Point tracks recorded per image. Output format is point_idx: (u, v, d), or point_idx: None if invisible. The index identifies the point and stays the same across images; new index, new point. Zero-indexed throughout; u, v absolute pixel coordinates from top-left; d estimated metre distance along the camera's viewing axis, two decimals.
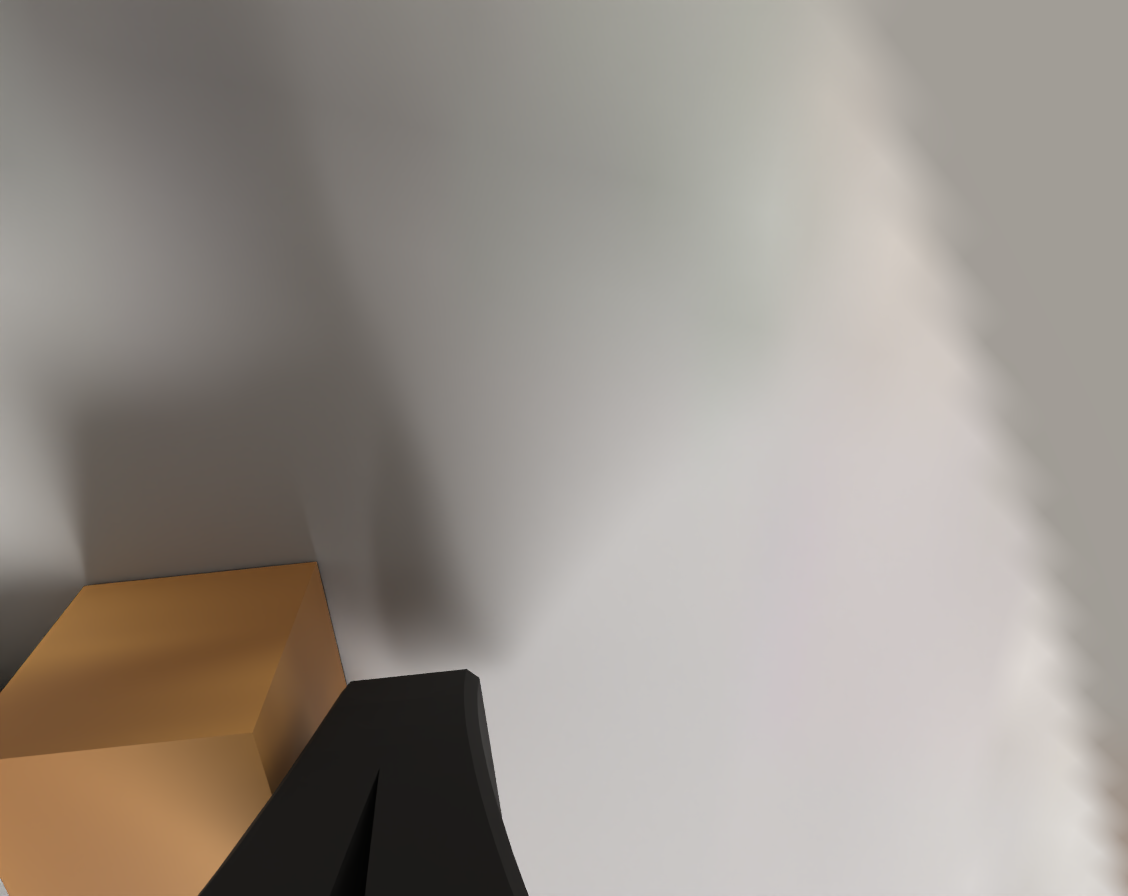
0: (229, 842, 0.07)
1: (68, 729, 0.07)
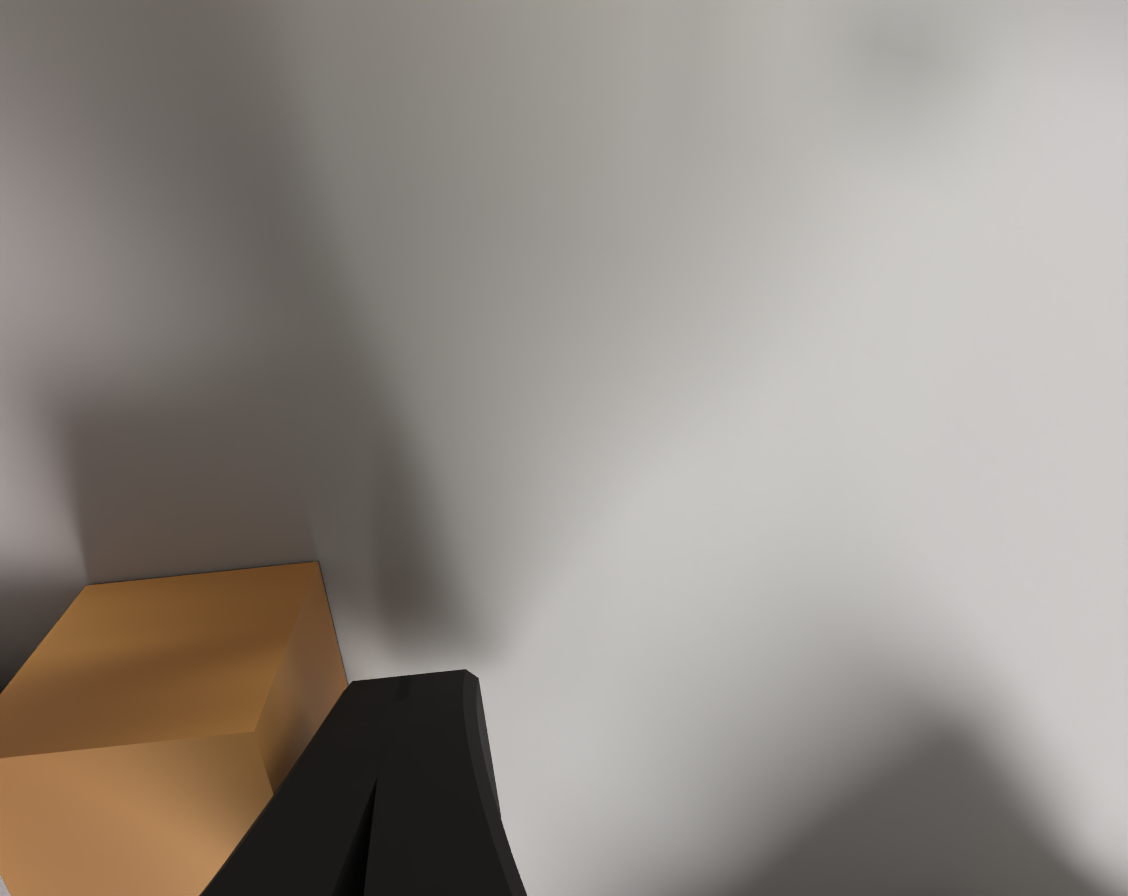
0: (230, 843, 0.07)
1: (71, 727, 0.07)
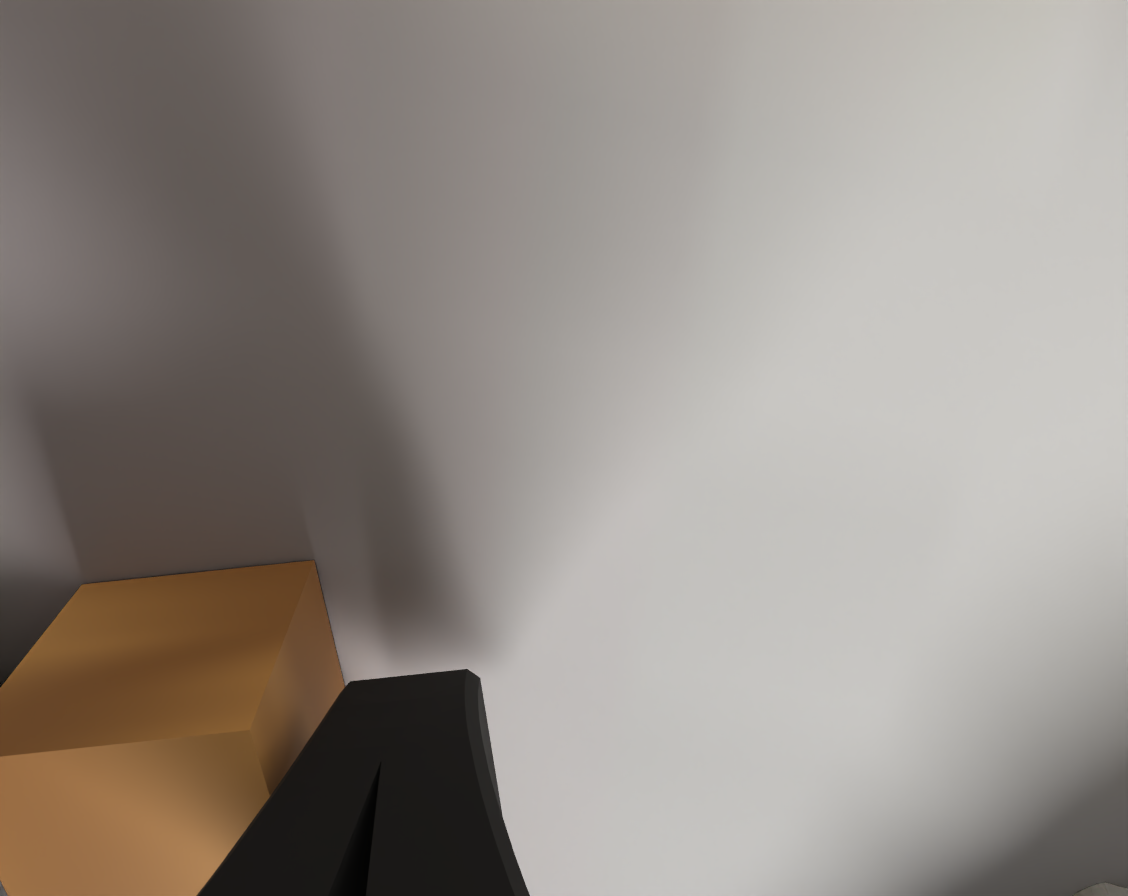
0: (226, 841, 0.07)
1: (65, 727, 0.07)
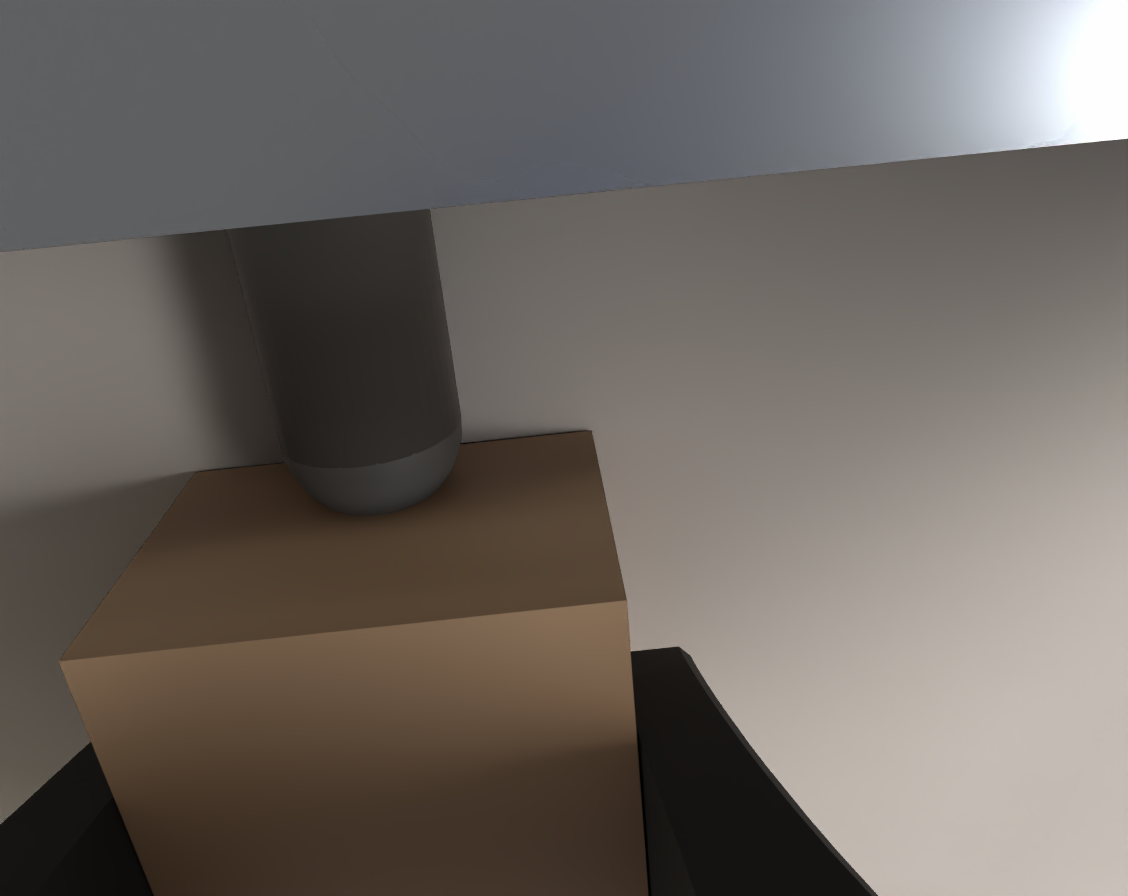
0: None
1: None
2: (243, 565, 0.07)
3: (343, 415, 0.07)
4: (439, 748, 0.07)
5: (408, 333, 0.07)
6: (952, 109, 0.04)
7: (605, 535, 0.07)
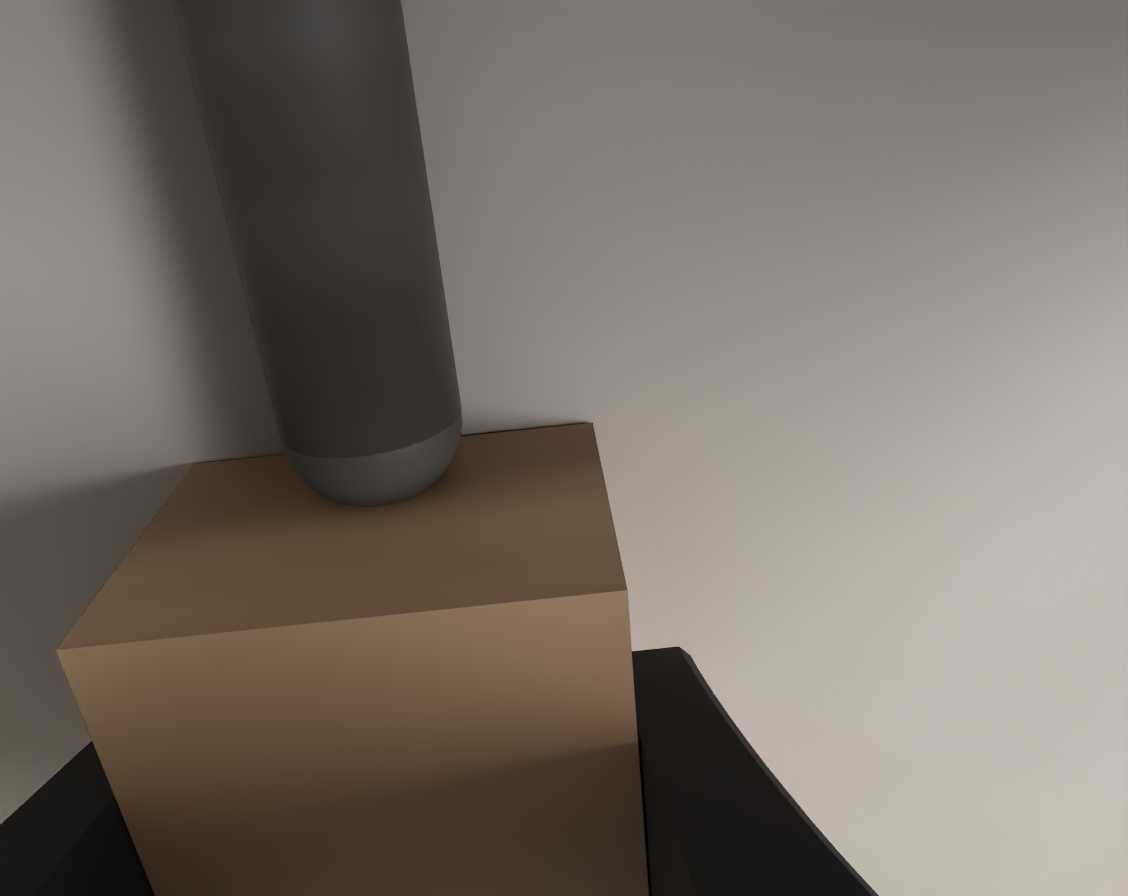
0: None
1: None
2: (240, 556, 0.07)
3: (342, 404, 0.07)
4: (437, 739, 0.07)
5: (408, 322, 0.07)
6: None
7: (606, 526, 0.07)
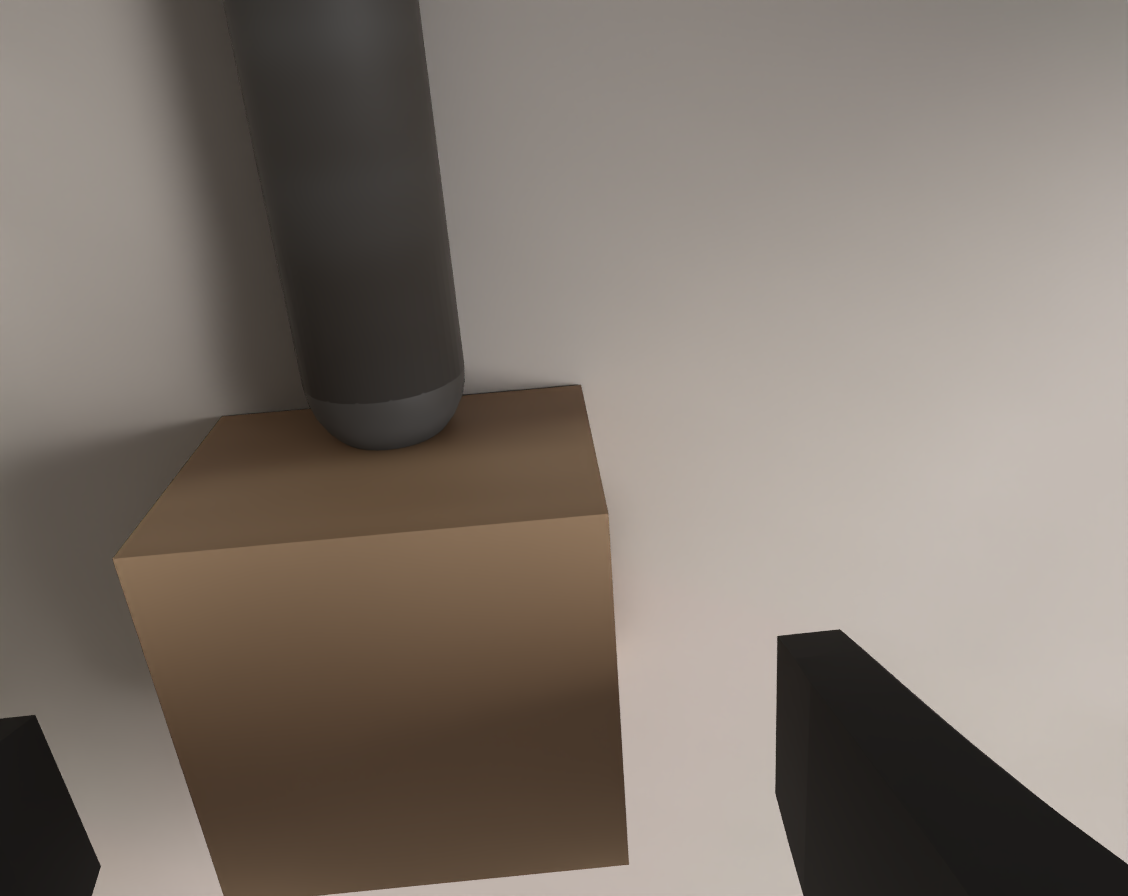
0: None
1: None
2: (269, 488, 0.08)
3: (361, 355, 0.08)
4: (442, 645, 0.08)
5: (420, 284, 0.08)
6: None
7: (591, 465, 0.08)
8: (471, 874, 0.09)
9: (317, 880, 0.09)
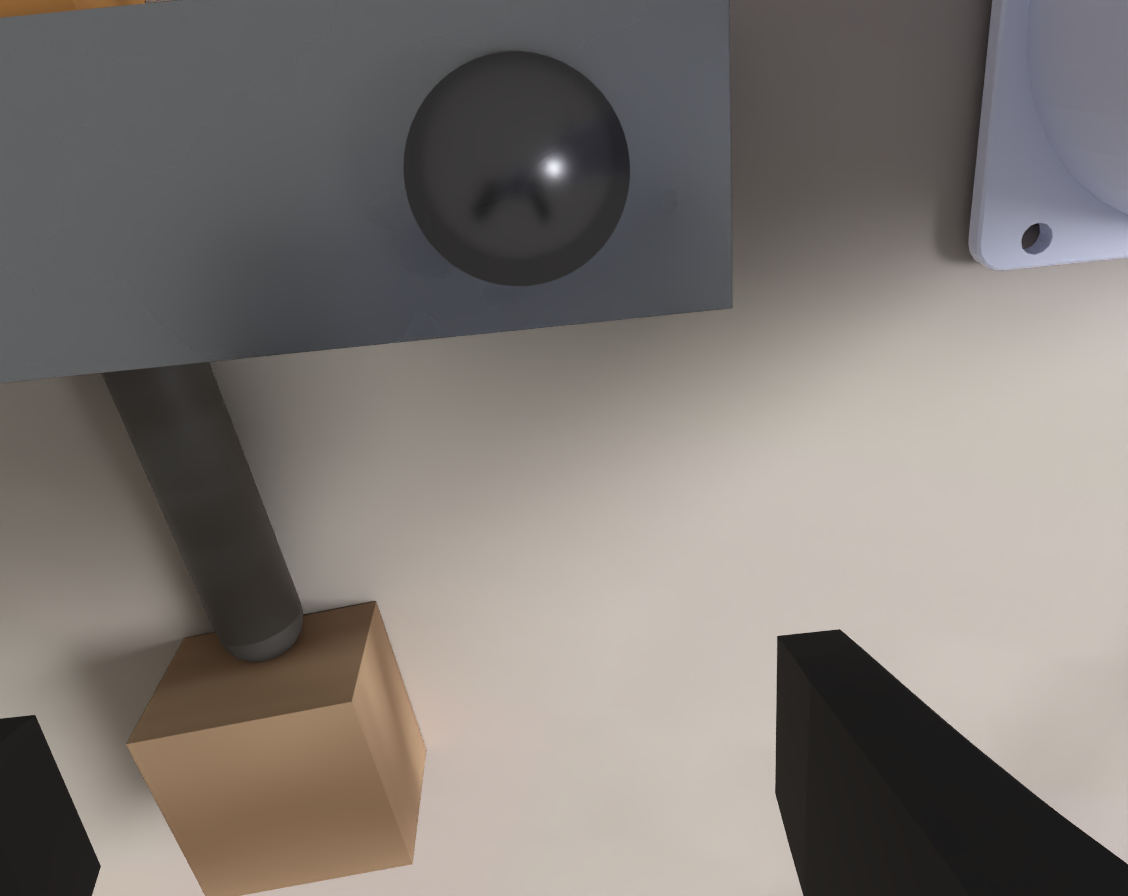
0: None
1: None
2: (201, 693, 0.16)
3: (238, 624, 0.16)
4: (288, 766, 0.16)
5: (262, 586, 0.16)
6: (362, 331, 0.11)
7: (356, 668, 0.16)
8: (330, 875, 0.17)
9: (252, 885, 0.17)
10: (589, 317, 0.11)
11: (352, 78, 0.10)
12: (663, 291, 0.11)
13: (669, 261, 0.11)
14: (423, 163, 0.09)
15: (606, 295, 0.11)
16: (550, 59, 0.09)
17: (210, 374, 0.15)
